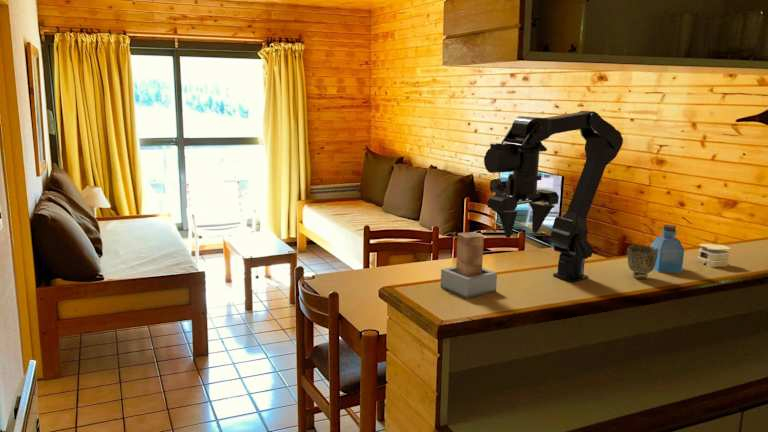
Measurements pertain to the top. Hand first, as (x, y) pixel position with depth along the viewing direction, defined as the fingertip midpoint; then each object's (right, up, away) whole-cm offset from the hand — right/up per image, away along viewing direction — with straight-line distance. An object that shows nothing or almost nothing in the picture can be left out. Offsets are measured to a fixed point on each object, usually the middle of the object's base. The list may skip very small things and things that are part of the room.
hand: (521, 235), depth 151 cm
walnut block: (-13, -13, 0) cm, 18 cm away
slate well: (-13, -13, 0) cm, 18 cm away
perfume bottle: (+43, -10, +19) cm, 48 cm away
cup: (+33, -12, +11) cm, 37 cm away
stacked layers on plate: (+58, -9, +24) cm, 64 cm away
